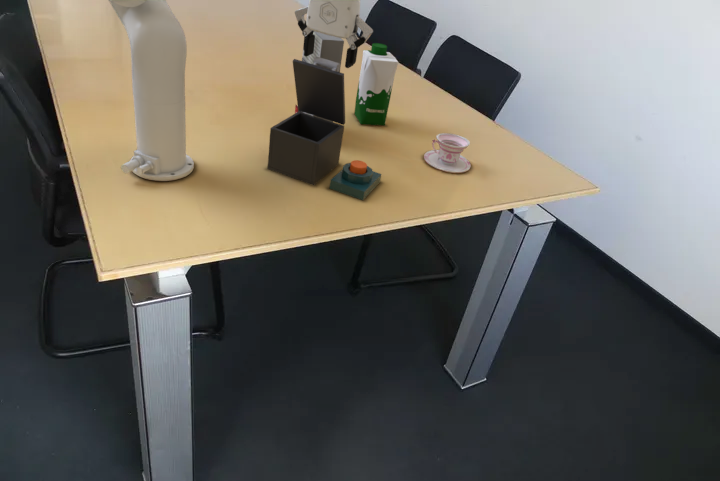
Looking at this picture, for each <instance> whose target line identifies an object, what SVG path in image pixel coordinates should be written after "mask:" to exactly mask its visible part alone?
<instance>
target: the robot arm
mask: <svg viewBox="0 0 720 481" xmlns="http://www.w3.org/2000/svg"><path fill="white" fill-rule="evenodd" d="M108 2H109V3H110V5H111V7H112V9H113V10H114V12H115V14H116V15H117V17H118V19H119V20H120V22H121V24H122V26H123V27H124V29H125V31H126V34H127V38H128V41H129V46H130V58H131V60H130V62H131V64H130V65H131V82H132V83H131V87H132V96H133V110H134V111H133V112H134V126H135V127H134V128H135V140H136V141H135V142H136V149H135V150H133V156H132V157H131V158H130V160H129V161H126V162H124V163H122V164H121V166H120V169H121V171H122V172H123V173H124V174H129V173H131V172H132V173H133V174H135V175H136V176H138V177H140V178H142V179H146V180H150V181H156V182H168V181H169V182H170V181H175V180H180V179H183V178H185V177H187V176H188V175H189V176H190V175H191V173H192V172H193V171H194V168H195V163H194V162H195V161H194V160H193V158H192V157H191V156H190V155H188V154H187V130H186V129H187V125H186V123H187V122H186V67H187V66H186V65H187V52H188V44H187V37H186V34H185V31H184V28H183V26H182V24H181V22H180V21H179V19H178V18H177V17H176V15H175V13H174V12H173V10H172V9H171V7H170V5H169V3H168V0H108ZM294 15H295V18H296V21H297V26H298V27H299V29H300V31H301V34H302V36H303V45H304V46H303V45H302V46H303V48H302V51H303V50H304V56H309V55H311V54H313V52H314V42H315V35H313V32H314V31H316V32H320V33H324V34H327V35H331V36H335V37H338V38H342V39H345V40H346V42H347V45H348V48H347V50H346V55H345V64H344V67H345V68H346V69H350V68H351V67H353V66H354V65H356V62H357V56H358V49H359V48H360V47H361V46H362V45H365V43H367V42H368V40H369V38H370V37H371V35H373V33H374V29H373V28H372V27H371V26H370V25H368V24H367V23H366V21H364V20H363V19H362V18H361V17H360V15H361V0H308V5H307V6H305V7H302V8H299V9H296V10H295V11H294ZM305 15H306V18H305ZM358 30H361V31H362V34H361V36H360V37H358V35H357V33H358V32H359V31H358Z"/></svg>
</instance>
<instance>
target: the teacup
mask: <svg viewBox="0 0 720 481" xmlns="http://www.w3.org/2000/svg"><path fill="white" fill-rule="evenodd" d="M435 137H436V139H432V143H431V145H432V149H431V150H428V151H426V152H425V153H424V155H423V159H424V161H425V163H427V164H428V165H429V166H431V167H433V168H434V169H436V170H440V171H442V172H447V173H451V174H452V173H453V174H460V173H461V174H463V173H466V172H468V171H470V169H471V166H472V165H471V164H472V163H471V162H470V161H469V160H468V159H467V158H466V157H465V156H463V155H461V154H462V153H463V152H464V150H465V149H467V148H468V147H469V146H470V144H471V142H470V140H469V139H468V138H466V137H464V136H461V135H458V134H456V133H451V132H442V133H438V134H436V136H435ZM435 144H438V146H439V149H436V148H435Z"/></svg>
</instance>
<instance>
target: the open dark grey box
mask: <svg viewBox="0 0 720 481" xmlns="http://www.w3.org/2000/svg"><path fill="white" fill-rule="evenodd" d="M344 130H345V125H342V124H339V123H336V122H330V121H327V120H324V119H321V118H318V117H315V116H312V115H309V114H306V113H302V112H299V111H298V112H297V113H295V112H294V113H293V114H292V115H290V116H288V117H287V118H284V119H283V120H282V121H280V122H278V123H276V124H274V125H273V126H272V127H270V131H269V143H268V144H269V145H268V158H267V170H268V171H269V170H270V171H272V172H275V173H277V174H280V175H283V176H285V177H289V178H291V179H295V180H297V181H300V182H303V183H306V184H308V185H311V186H316V185H317V184H319V182H321V180H322V179H323V178H325V177H326V176H327V175H329V174H330V173H331V172H332V171H333V170H334V169H335V168H336V167H337V166H339V163H340V157H341V150H342V144H343V136H344Z"/></svg>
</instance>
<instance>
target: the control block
mask: <svg viewBox="0 0 720 481" xmlns="http://www.w3.org/2000/svg"><path fill="white" fill-rule="evenodd" d="M350 164H351V162H348V163H345V164H344V165H342V169H341V170H340V171H338V173H336V175H334V176H333V177H332V178H331V179H330V181H329V189H330V190H333V191H335V192H338V193H340V194H344V195H346V196H349V197H353V198H355V199H358V200H360V201H364V200H365V199H366V198H367V197H368V196H369V195H370V194H371V193H372V191H373V190H374V189H376V187H377V186H378V185H379V184H380V183H381V179H382V173H381V172H376V171H374V170H373V169H372V168H371V167H370V166H368V165H367V169H366V173H365V174H355V173H352V172H351V171H350Z"/></svg>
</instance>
